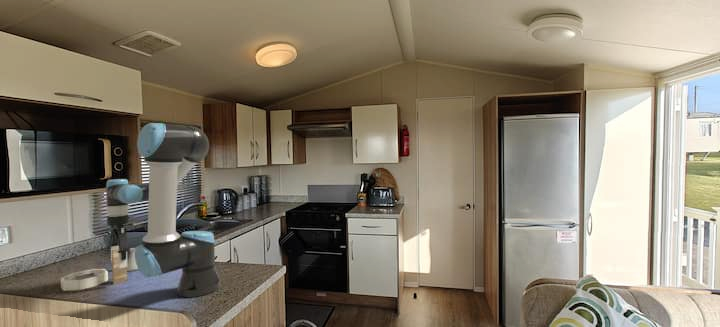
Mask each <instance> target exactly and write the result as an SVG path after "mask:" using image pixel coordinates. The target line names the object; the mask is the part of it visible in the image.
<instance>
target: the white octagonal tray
mask: <svg viewBox="0 0 720 327" xmlns="http://www.w3.org/2000/svg"><path fill="white" fill-rule="evenodd" d="M108 281H109V272H108V270H107V269H105V268H91V269H87V270H81V271H77V272H72V273H69V274H67V275H65V276H62V277H60V288H61V290H62V291H63V292H64V291H65V292H66V291H69V292H70V291H81V290H85V289H88V288H93V287H98V286H100V285H102V284H103V283H107V282H108Z"/></svg>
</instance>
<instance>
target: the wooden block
mask: <svg viewBox="0 0 720 327" xmlns="http://www.w3.org/2000/svg"><path fill="white" fill-rule="evenodd" d="M118 251H119V249H117V250H112V262H111V263H112V264H111V266H112V267H111V268H112V270H111V271H112V273H111V274H112V284H113V285H117V284H122V283H125V282H127V281H128V276H127V273H128V271H127V267H124V268H119V253H118Z"/></svg>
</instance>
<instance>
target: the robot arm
mask: <svg viewBox="0 0 720 327" xmlns="http://www.w3.org/2000/svg"><path fill="white" fill-rule="evenodd" d="M137 137H138V138H137V143H136V147H137V153H138V154H139V156H140V157H142V158H144V160H143V161H144V163H145V164H146V165H147V166H148V167H149V172H148V173H149V175H148V178H149V179H148V183H136V184H132V183H131V184H129V181H128V179H126V178H117V179H108V180H107V181H106V186H105V190H106V191H105V192H106V216H107V217H106V224H107V226H110V234H109V242H108V243H109V245H110V262H111V263H112V250H117V249H119V251H118V253H119V268H124V267H127V263H128V252H130V250H129V249H130V248H129V242H128V237H127V235H128V234H127V228H126V227H124V225H127V224H129V223H130V216H129V212H130V211H129V209H131V206H129V205H130V204H136V203H141V202H148V204H147V205H148V206H147V207H148V208H147V209H148V210H147V213H148V214H147V215H148V216H147V234H146V235H144V236H143V237H142V240H141V242H142V243H141V244H139V245H137V246H136V247H135V248H136V250H135V261H136V264H137V267H138V272H140V274H141V275H142V276H144V277H145V278H151V277H152V278H153V277H157V276H162V275H165V274H168V273H171V272H174V271H178V270H181V276H180V278H179V283H178V286H177V295H178V296H180V297H182V298H195V297H200V296H201V297H202V296H204V295H208V294H211V293H215V291H217V290H219V289H220V287H221V280H220V277H219V274H218V272H217V270H216V260H215V256H216V255H215V253H216V252H215V250H216V249H215V244H216V243H215V242H216V241H215V235H214V233H213V232H211V231H208V230H207V231H205V230H188V231H183V232H181V234H180V233H179V232H177V228H176V226H177V203H178V202H177V200H178V185H179V183H181V181H182V180H184V178H185V176H187V174H188V173H189V172H190V171H191V170H192V169H193V167H194V166H195V165H196V164H198V163H200V162H202V161H203V160H204V159H205V158H206V156H207V155H208V153H209V148H210V140H209V139H208V136H207V135H206V133H204V131H202V130H201V129H200V128H198V127H195V126H193V125H183V124H181V125H180V124H173V123H162V122H160V123H159V122H158V123H157V122H149V123H147V124H145V125H144V126H143V127H142V128H141V130H140V132H139V134H138V136H137Z"/></svg>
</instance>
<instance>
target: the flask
mask: <svg viewBox="0 0 720 327" xmlns="http://www.w3.org/2000/svg"><path fill="white" fill-rule="evenodd" d="M135 250H136V247H132V248H129V258H128V259H127V272H131V271H137V270H138V271H139V269H138V267H137V264H136V261H135Z"/></svg>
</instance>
